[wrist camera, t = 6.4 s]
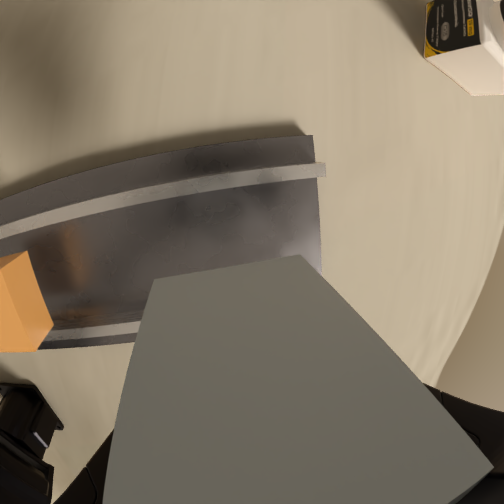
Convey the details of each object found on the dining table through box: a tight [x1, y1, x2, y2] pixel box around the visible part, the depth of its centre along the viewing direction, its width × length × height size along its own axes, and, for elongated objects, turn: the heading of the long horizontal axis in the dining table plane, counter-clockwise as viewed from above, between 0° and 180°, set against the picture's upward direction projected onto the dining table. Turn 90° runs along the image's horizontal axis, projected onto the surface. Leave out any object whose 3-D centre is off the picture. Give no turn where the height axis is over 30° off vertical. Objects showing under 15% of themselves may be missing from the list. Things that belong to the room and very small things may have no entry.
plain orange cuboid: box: [0, 251, 54, 352], centre depth 12 cm, size 4×5×3 cm
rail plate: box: [0, 135, 326, 350], centre depth 17 cm, size 23×12×2 cm, turn 96°
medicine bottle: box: [424, 0, 504, 96], centre depth 11 cm, size 7×7×12 cm
